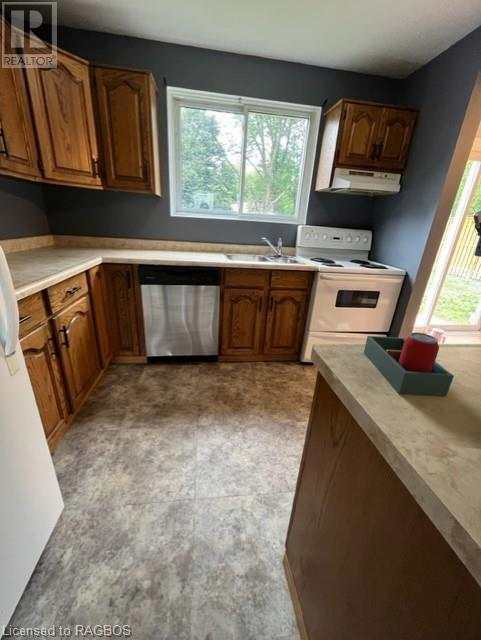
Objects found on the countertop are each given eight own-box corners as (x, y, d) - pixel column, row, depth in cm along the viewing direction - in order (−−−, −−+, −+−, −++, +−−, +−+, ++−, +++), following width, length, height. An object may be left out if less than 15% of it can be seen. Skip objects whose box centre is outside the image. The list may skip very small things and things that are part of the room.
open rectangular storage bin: (399, 354, 80) (404, 336, 78) (446, 397, 61) (454, 373, 59) (363, 352, 80) (367, 334, 78) (398, 394, 61) (405, 370, 59)
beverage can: (432, 387, 64) (448, 341, 60) (413, 392, 62) (428, 345, 57) (407, 373, 70) (419, 330, 66) (388, 377, 67) (400, 333, 63)
